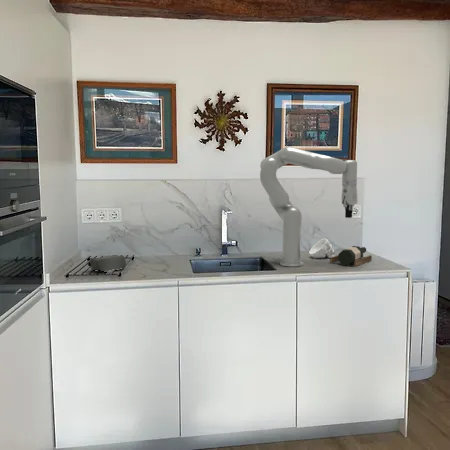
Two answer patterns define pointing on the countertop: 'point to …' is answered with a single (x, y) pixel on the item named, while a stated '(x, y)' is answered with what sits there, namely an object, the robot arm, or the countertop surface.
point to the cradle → (356, 263)
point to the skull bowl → (322, 249)
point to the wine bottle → (351, 255)
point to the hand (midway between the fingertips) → (348, 217)
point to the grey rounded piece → (107, 263)
